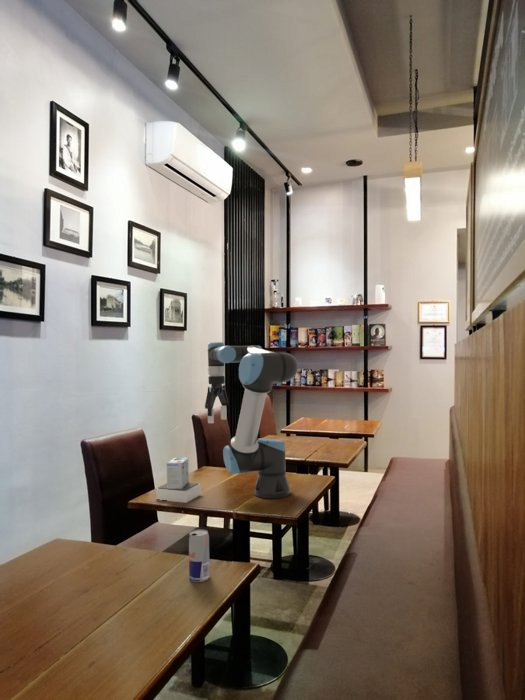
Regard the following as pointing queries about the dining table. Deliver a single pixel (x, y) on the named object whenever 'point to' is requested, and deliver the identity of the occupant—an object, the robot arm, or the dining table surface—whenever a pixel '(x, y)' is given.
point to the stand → (178, 493)
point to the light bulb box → (177, 473)
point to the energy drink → (199, 555)
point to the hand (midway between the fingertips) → (217, 421)
